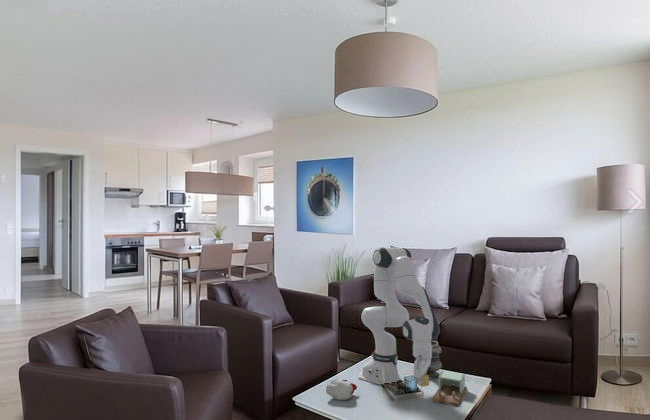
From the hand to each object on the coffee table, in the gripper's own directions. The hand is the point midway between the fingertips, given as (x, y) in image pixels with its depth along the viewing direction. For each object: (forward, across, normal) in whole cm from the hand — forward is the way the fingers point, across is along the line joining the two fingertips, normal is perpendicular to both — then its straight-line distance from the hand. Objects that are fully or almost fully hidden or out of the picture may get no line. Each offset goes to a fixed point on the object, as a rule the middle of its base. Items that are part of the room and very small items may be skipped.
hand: (422, 380), depth 200 cm
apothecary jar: (+11, +34, +3) cm, 36 cm away
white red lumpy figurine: (+10, -13, +36) cm, 39 cm away
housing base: (+10, +11, -11) cm, 18 cm away
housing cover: (+8, +16, -11) cm, 21 cm away
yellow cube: (+2, 0, 0) cm, 2 cm away
